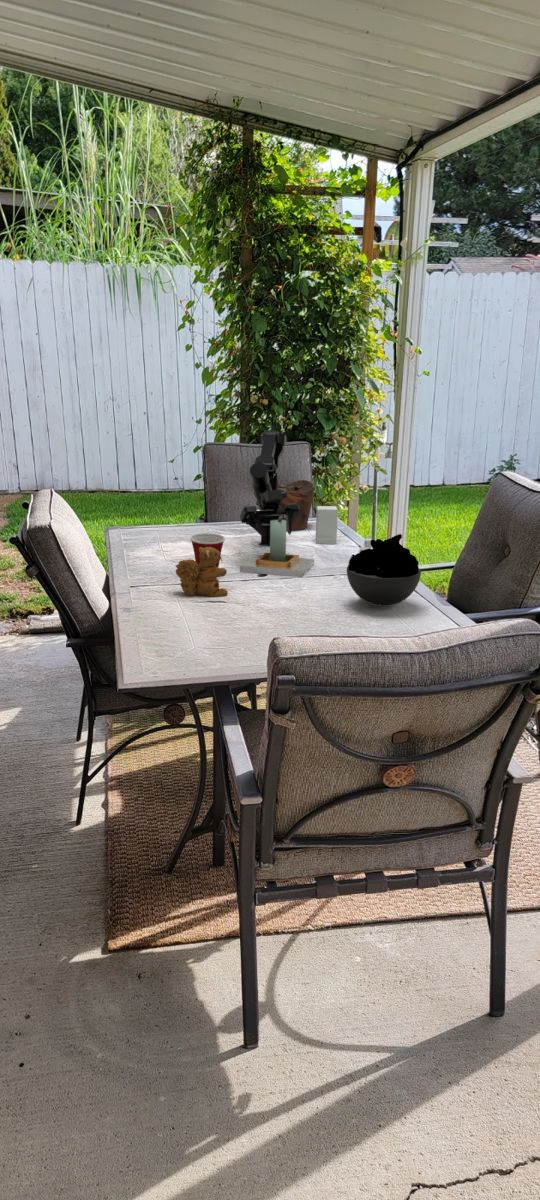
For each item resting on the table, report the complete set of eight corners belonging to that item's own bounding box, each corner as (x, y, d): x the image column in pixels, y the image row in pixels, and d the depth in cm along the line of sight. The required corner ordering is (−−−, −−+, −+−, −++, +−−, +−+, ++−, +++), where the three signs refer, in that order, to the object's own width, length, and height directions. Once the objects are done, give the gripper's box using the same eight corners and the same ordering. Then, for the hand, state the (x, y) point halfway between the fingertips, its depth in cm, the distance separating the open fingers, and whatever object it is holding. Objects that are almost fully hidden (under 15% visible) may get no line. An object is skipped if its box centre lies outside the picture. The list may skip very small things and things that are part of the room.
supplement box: (336, 544, 311) (337, 509, 307) (315, 544, 311) (317, 509, 307) (335, 540, 318) (336, 505, 314) (315, 539, 318) (316, 505, 314)
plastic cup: (195, 580, 259) (194, 541, 256) (186, 572, 269) (185, 534, 266) (229, 577, 263) (230, 539, 260) (219, 569, 273) (219, 532, 269)
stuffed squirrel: (230, 596, 244) (230, 550, 240) (181, 599, 240) (180, 553, 236) (220, 587, 253) (220, 542, 249) (173, 590, 249) (172, 545, 245)
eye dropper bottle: (369, 570, 275) (370, 532, 272) (377, 574, 270) (379, 536, 267) (356, 571, 273) (358, 533, 270) (365, 575, 268) (366, 537, 265)
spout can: (267, 560, 276) (268, 514, 272) (281, 559, 278) (282, 513, 274) (273, 564, 272) (274, 516, 267) (288, 562, 273) (289, 516, 269)
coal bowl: (368, 618, 225) (371, 547, 220) (332, 598, 242) (334, 532, 237) (433, 610, 233) (438, 542, 227) (394, 592, 250) (397, 527, 245)
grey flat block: (239, 571, 270) (239, 560, 269) (254, 560, 285) (254, 550, 284) (301, 577, 265) (302, 565, 264) (313, 565, 280) (314, 554, 279)
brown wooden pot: (262, 531, 331) (263, 484, 326) (270, 521, 350) (272, 477, 345) (308, 534, 328) (311, 487, 323) (314, 524, 347) (317, 479, 342)
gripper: (243, 480, 270) (255, 522, 263) (298, 478, 277) (311, 518, 270) (234, 501, 279) (246, 542, 273) (287, 498, 286) (300, 538, 279)
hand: (276, 535), depth 273 cm, fingers open, 9 cm apart
